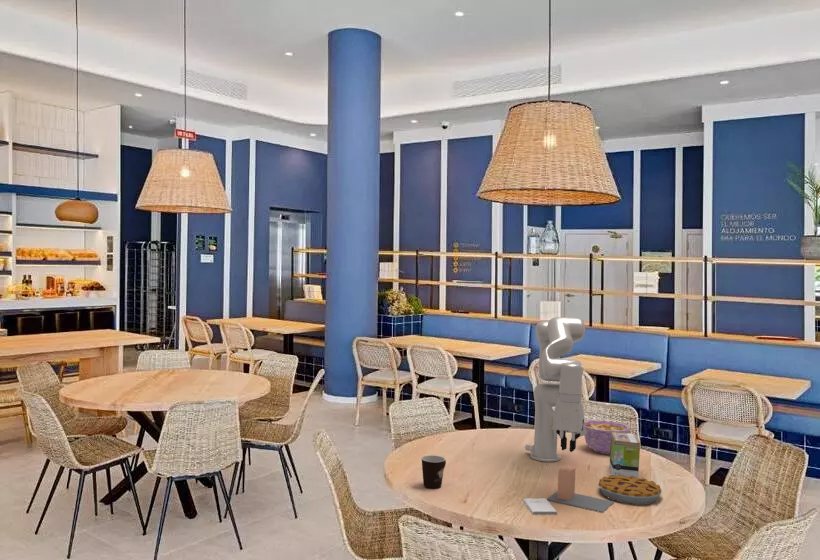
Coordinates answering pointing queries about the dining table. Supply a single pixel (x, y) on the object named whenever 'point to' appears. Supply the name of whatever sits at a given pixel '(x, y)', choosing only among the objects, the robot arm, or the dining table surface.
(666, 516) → the dining table surface
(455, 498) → the dining table surface
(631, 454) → the tea box
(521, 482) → the dining table surface
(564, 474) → the block
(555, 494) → the mat
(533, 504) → the external hard drive
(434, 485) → the coffee mug
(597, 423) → the bowl of food
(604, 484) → the pie
